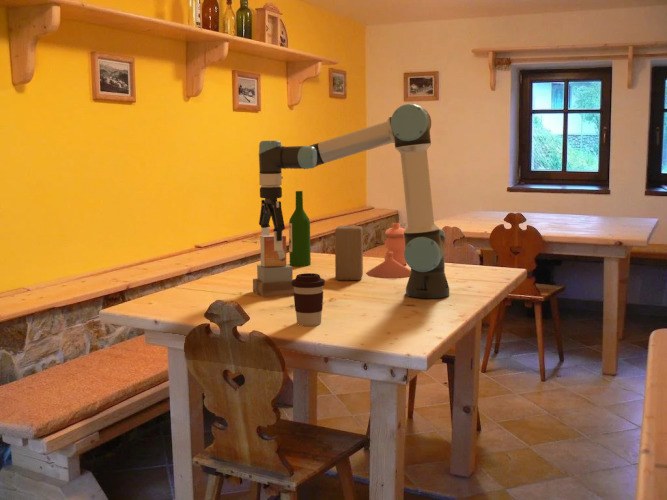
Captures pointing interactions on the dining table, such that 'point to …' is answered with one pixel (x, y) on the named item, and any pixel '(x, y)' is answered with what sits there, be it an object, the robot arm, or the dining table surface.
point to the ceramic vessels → (393, 256)
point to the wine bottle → (299, 235)
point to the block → (348, 253)
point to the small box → (272, 252)
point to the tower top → (274, 274)
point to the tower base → (272, 288)
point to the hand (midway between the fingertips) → (271, 248)
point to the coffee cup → (308, 298)
